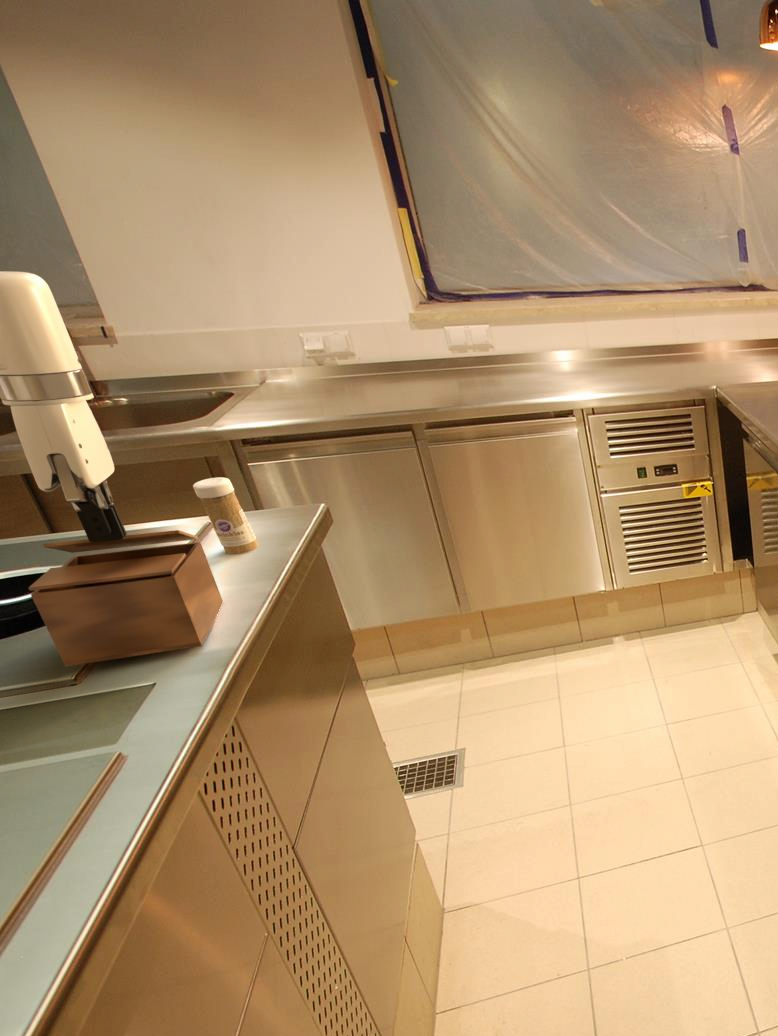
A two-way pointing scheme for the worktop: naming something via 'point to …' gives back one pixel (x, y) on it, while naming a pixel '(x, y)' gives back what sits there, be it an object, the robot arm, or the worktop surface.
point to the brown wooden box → (128, 602)
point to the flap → (122, 541)
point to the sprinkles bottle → (226, 515)
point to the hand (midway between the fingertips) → (108, 538)
